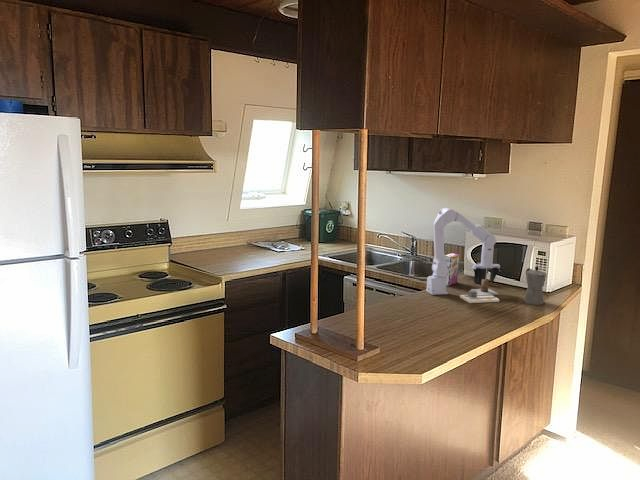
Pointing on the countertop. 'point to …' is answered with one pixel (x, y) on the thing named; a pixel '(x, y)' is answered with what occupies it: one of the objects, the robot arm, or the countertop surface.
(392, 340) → the countertop surface
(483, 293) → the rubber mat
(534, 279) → the coffeepot
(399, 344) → the countertop surface
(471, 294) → the switch tab
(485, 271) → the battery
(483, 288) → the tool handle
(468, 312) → the countertop surface
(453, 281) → the candy bar box
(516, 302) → the countertop surface
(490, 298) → the switch panel
